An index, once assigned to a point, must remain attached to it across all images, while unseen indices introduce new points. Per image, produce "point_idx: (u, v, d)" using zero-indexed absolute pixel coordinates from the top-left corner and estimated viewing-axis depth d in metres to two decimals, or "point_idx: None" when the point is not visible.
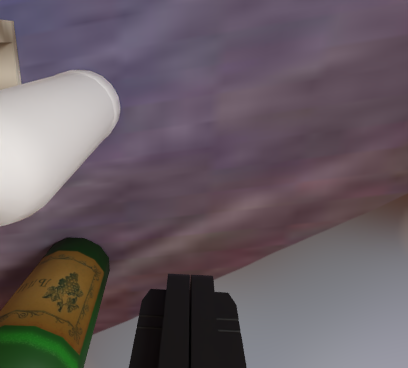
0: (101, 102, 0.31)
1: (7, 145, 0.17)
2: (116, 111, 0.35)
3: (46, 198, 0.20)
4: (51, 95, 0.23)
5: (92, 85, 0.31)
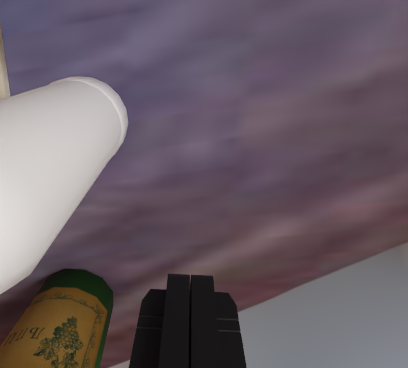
0: (107, 118, 0.25)
1: None
2: (124, 126, 0.29)
3: (32, 265, 0.14)
4: (42, 115, 0.17)
5: (95, 96, 0.25)
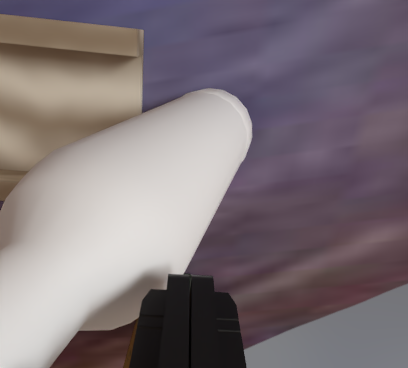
0: (238, 134, 0.24)
1: (129, 229, 0.11)
2: (249, 142, 0.28)
3: None
4: (187, 132, 0.17)
5: (228, 111, 0.25)
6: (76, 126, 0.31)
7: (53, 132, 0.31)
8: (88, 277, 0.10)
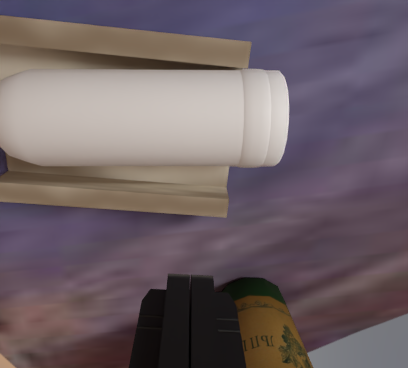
0: (199, 73, 0.25)
1: None
2: (251, 84, 0.24)
3: (10, 110, 0.23)
4: None
5: None
6: None
7: None
8: None
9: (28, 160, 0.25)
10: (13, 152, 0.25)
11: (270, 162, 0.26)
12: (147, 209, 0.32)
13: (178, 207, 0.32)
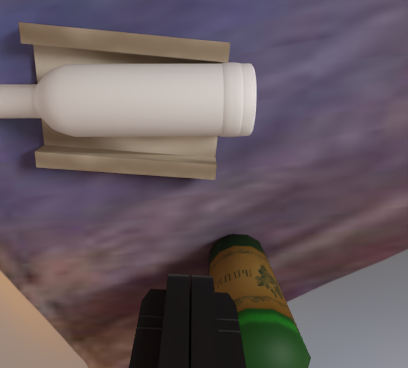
0: (191, 65, 0.34)
1: None
2: (229, 73, 0.33)
3: (56, 93, 0.32)
4: None
5: None
6: None
7: None
8: (37, 84, 0.35)
9: (66, 131, 0.35)
10: (56, 124, 0.34)
11: (245, 131, 0.35)
12: (153, 173, 0.41)
13: (177, 171, 0.41)
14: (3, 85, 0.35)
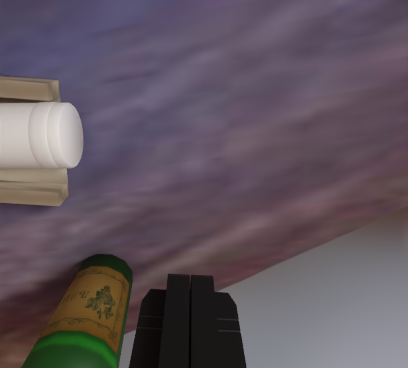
0: (6, 105, 0.37)
1: None
2: (35, 113, 0.36)
3: None
4: None
5: None
6: None
7: None
8: None
9: None
10: None
11: (62, 165, 0.38)
12: None
13: (22, 198, 0.43)
14: None
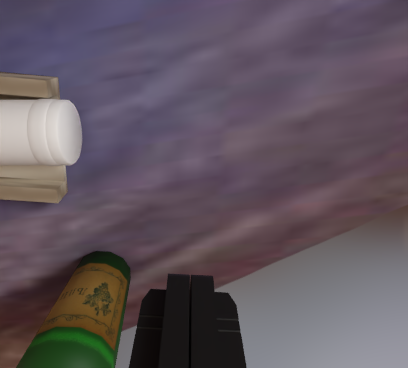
0: (5, 102, 0.37)
1: None
2: (34, 110, 0.36)
3: None
4: None
5: None
6: None
7: None
8: None
9: None
10: None
11: (60, 162, 0.38)
12: None
13: (21, 195, 0.44)
14: None
